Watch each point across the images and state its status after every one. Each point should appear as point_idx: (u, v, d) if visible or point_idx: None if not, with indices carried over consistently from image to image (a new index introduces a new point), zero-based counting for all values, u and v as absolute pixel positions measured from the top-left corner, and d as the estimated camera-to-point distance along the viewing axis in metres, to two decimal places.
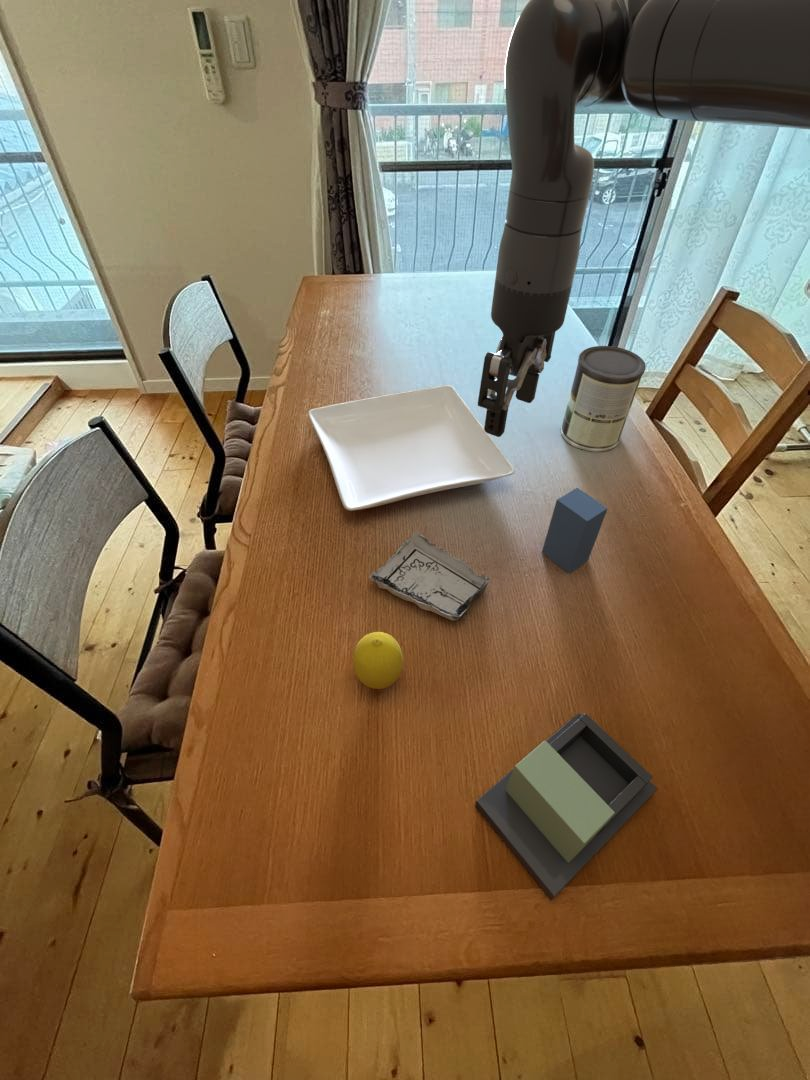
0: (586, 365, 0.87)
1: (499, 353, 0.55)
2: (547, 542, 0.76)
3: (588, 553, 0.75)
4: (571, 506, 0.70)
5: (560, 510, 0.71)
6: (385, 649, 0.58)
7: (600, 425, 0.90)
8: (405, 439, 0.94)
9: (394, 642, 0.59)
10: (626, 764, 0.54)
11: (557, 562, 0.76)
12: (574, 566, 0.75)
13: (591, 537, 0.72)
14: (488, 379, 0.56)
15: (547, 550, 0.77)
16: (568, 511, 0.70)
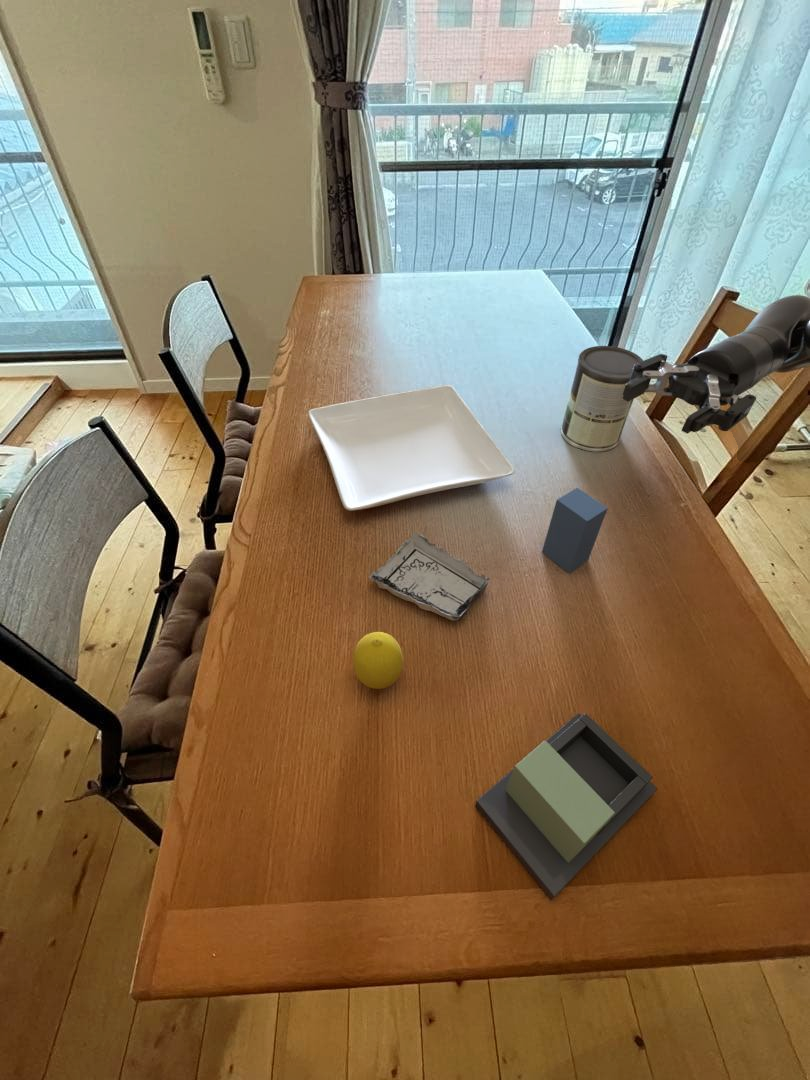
0: (586, 365, 0.87)
1: None
2: (547, 542, 0.76)
3: (588, 553, 0.75)
4: (571, 506, 0.70)
5: (560, 510, 0.71)
6: (385, 649, 0.58)
7: (600, 425, 0.90)
8: (405, 439, 0.94)
9: (394, 642, 0.59)
10: (626, 764, 0.54)
11: (557, 562, 0.76)
12: (574, 566, 0.75)
13: (591, 537, 0.72)
14: None
15: (547, 550, 0.77)
16: (568, 511, 0.70)
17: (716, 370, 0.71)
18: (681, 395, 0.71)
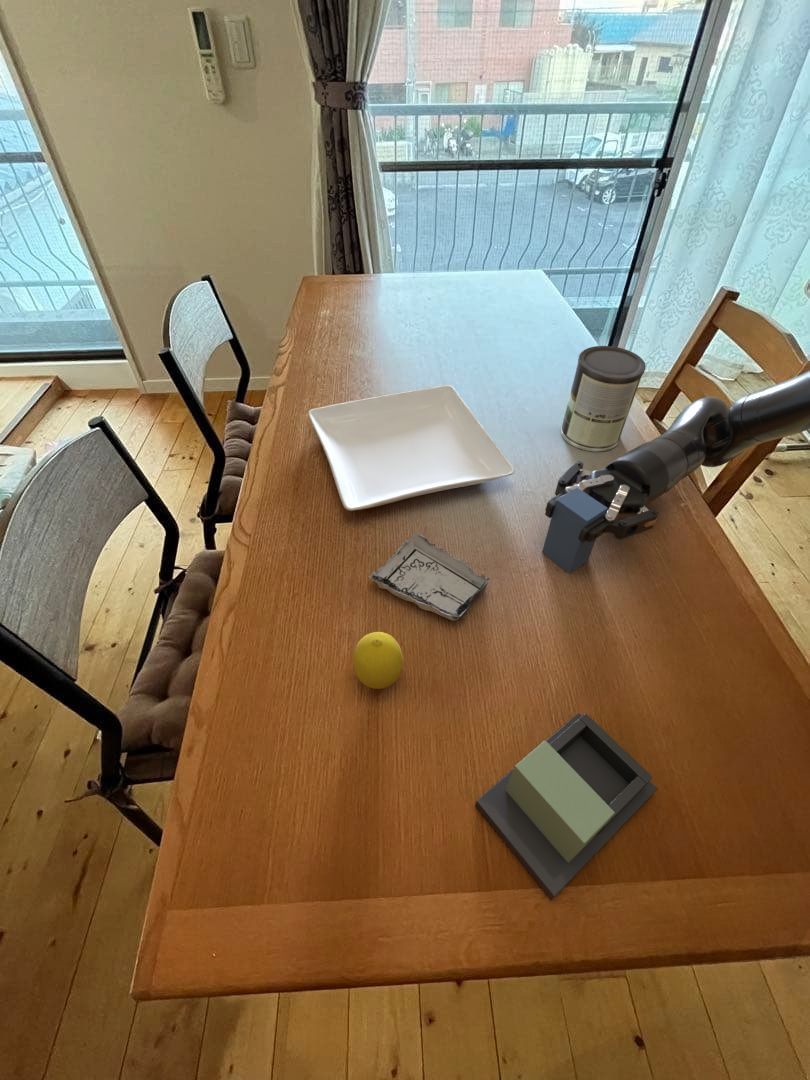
0: (586, 365, 0.87)
1: None
2: (547, 542, 0.76)
3: (588, 553, 0.75)
4: (571, 506, 0.70)
5: (560, 510, 0.71)
6: (385, 649, 0.58)
7: (600, 425, 0.90)
8: (405, 439, 0.94)
9: (394, 642, 0.59)
10: (626, 764, 0.54)
11: (557, 562, 0.76)
12: (574, 566, 0.75)
13: None
14: None
15: (547, 550, 0.77)
16: (568, 511, 0.70)
17: (631, 479, 0.74)
18: None
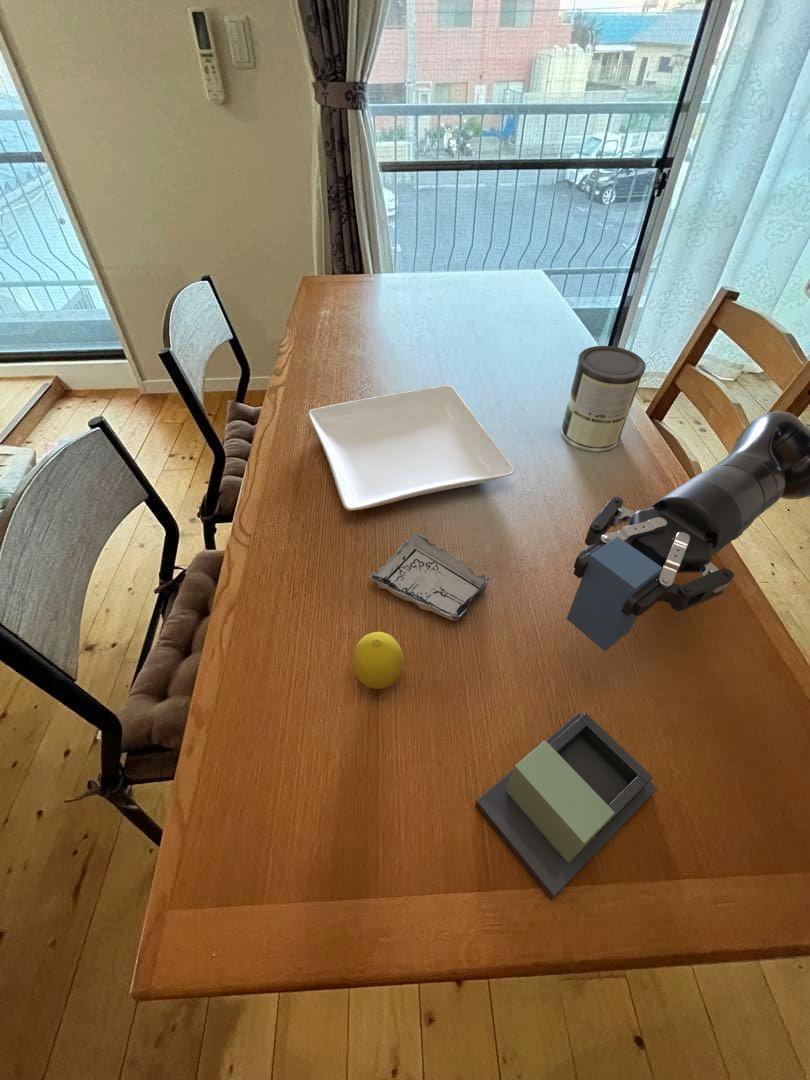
0: (586, 365, 0.87)
1: None
2: (575, 608, 0.56)
3: (631, 623, 0.55)
4: (612, 565, 0.50)
5: (595, 570, 0.51)
6: (385, 649, 0.58)
7: (600, 425, 0.90)
8: (405, 439, 0.94)
9: (394, 642, 0.59)
10: (626, 764, 0.54)
11: (588, 634, 0.56)
12: (612, 642, 0.55)
13: None
14: None
15: (574, 618, 0.57)
16: (607, 572, 0.50)
17: (689, 523, 0.54)
18: None
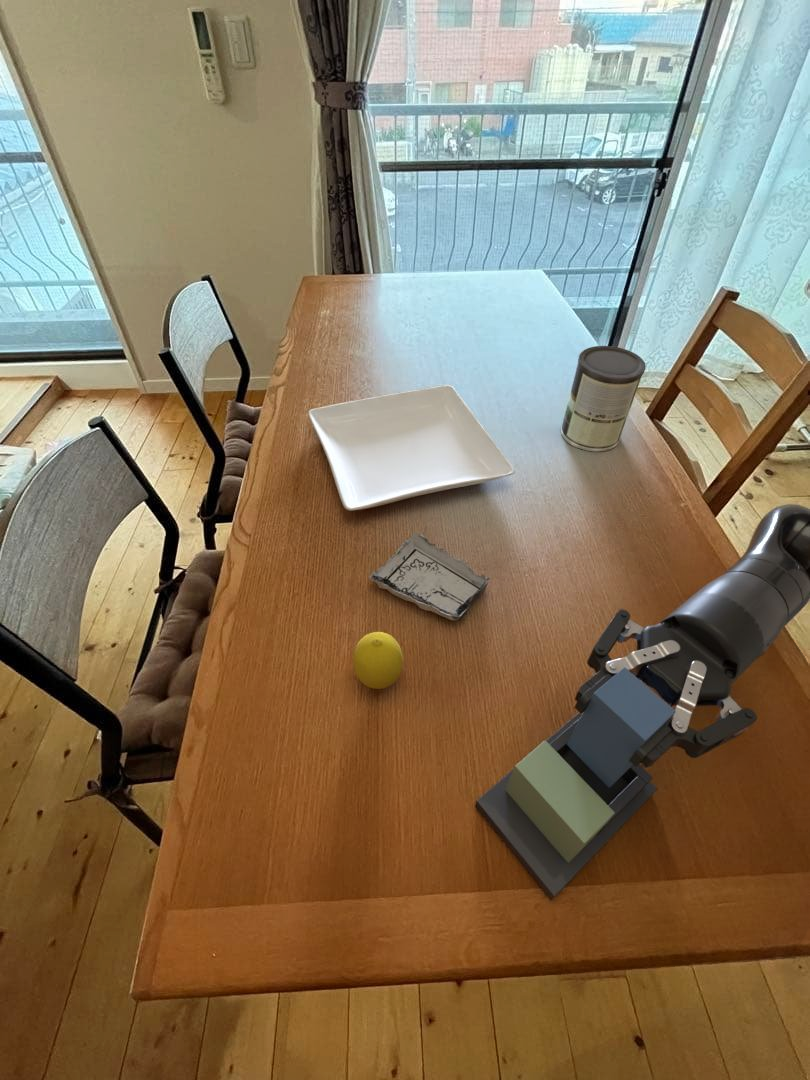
0: (586, 365, 0.87)
1: None
2: (576, 737, 0.50)
3: None
4: (618, 707, 0.44)
5: (599, 709, 0.45)
6: (385, 649, 0.58)
7: (600, 425, 0.90)
8: (405, 439, 0.94)
9: (394, 642, 0.59)
10: None
11: (591, 766, 0.50)
12: (617, 778, 0.49)
13: None
14: None
15: (575, 746, 0.51)
16: (613, 715, 0.44)
17: (705, 647, 0.48)
18: (653, 685, 0.48)
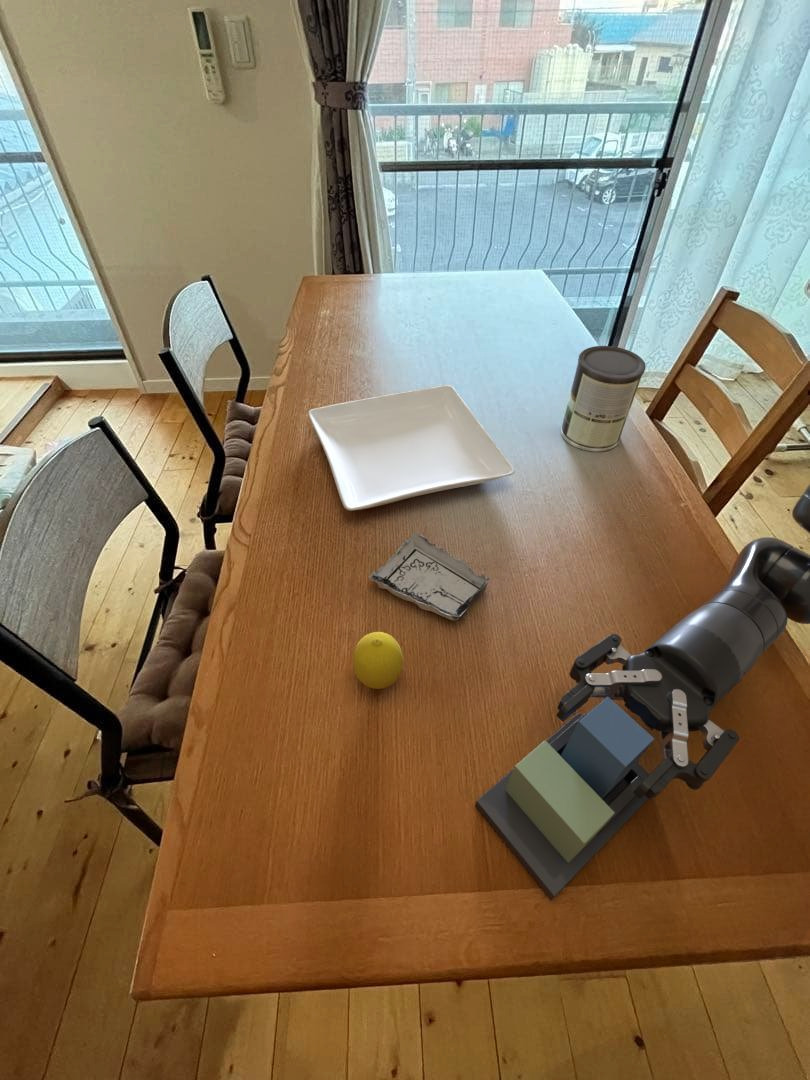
0: (586, 365, 0.87)
1: None
2: None
3: (622, 779, 0.53)
4: (601, 735, 0.48)
5: (584, 736, 0.49)
6: (385, 649, 0.58)
7: (600, 425, 0.90)
8: (405, 439, 0.94)
9: (394, 642, 0.59)
10: None
11: None
12: (602, 799, 0.53)
13: (628, 769, 0.50)
14: None
15: None
16: (596, 742, 0.48)
17: (686, 676, 0.52)
18: (637, 711, 0.51)
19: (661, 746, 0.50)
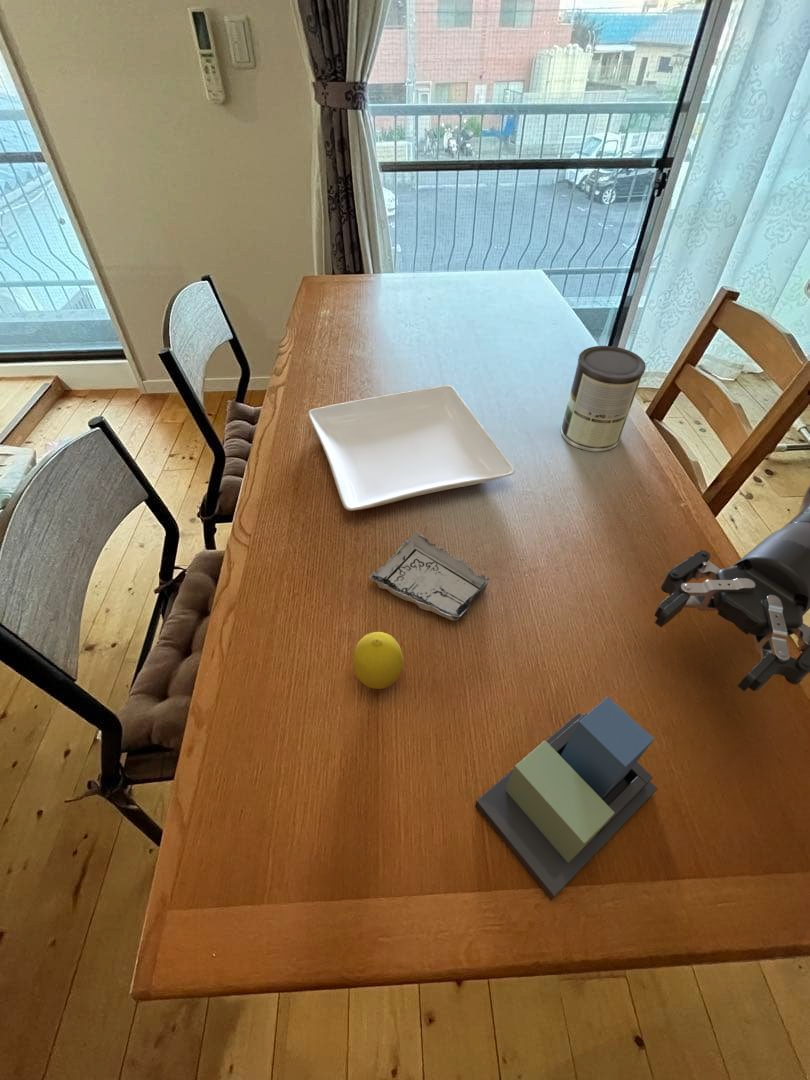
0: (586, 365, 0.87)
1: None
2: None
3: (622, 779, 0.53)
4: (601, 735, 0.48)
5: (584, 736, 0.49)
6: (385, 649, 0.58)
7: (600, 425, 0.90)
8: (405, 439, 0.94)
9: (394, 642, 0.59)
10: None
11: None
12: (602, 799, 0.53)
13: (628, 769, 0.50)
14: None
15: None
16: (596, 742, 0.48)
17: (777, 584, 0.54)
18: (731, 618, 0.54)
19: (757, 649, 0.52)
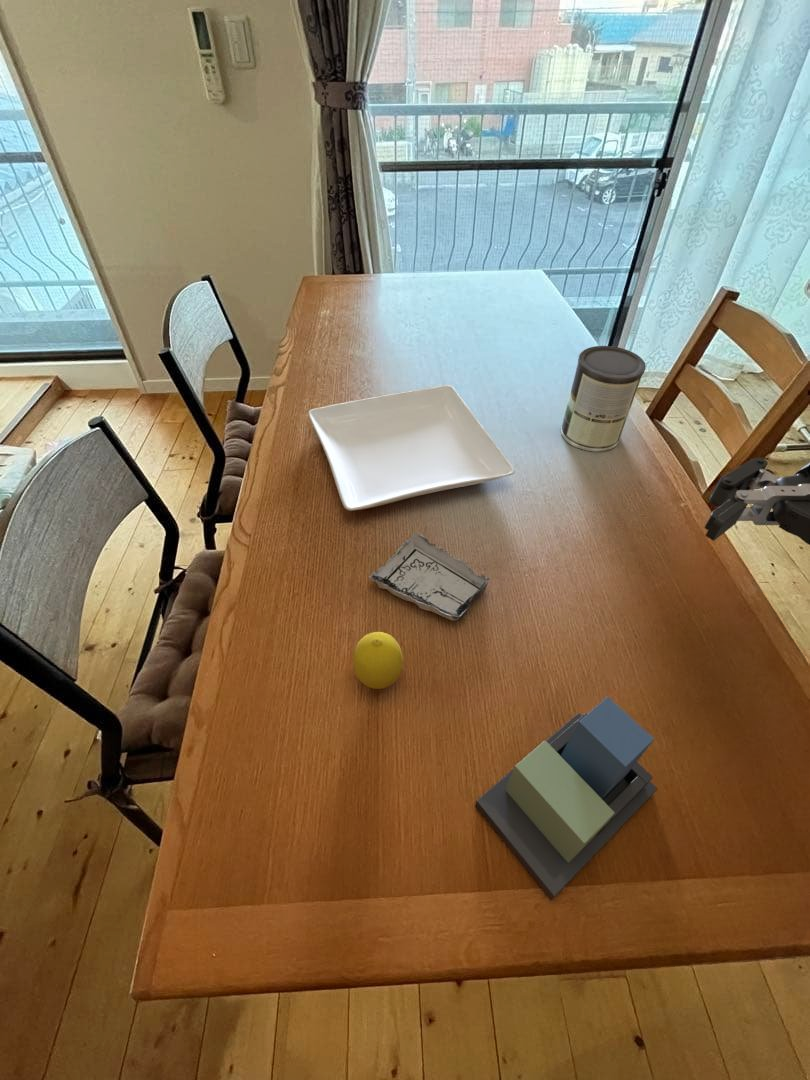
0: (586, 365, 0.87)
1: None
2: None
3: (622, 779, 0.53)
4: (601, 735, 0.48)
5: (584, 736, 0.49)
6: (385, 649, 0.58)
7: (600, 425, 0.90)
8: (405, 439, 0.94)
9: (394, 642, 0.59)
10: None
11: None
12: (602, 799, 0.53)
13: (628, 769, 0.50)
14: None
15: None
16: (596, 742, 0.48)
17: None
18: (796, 530, 0.45)
19: None
